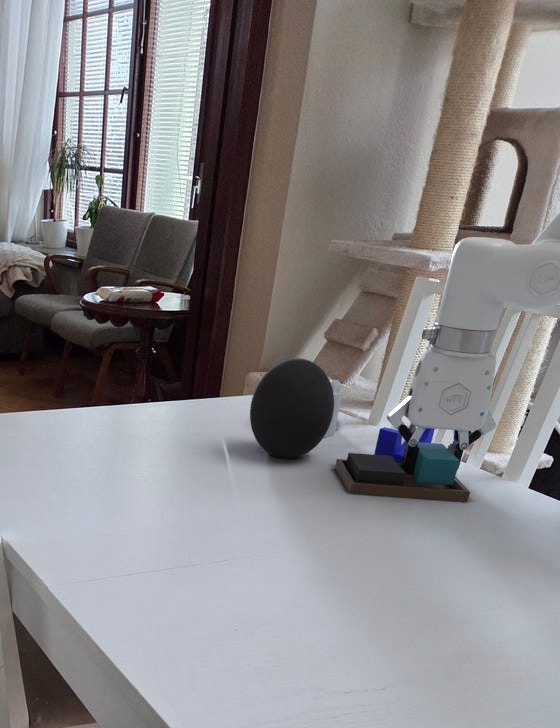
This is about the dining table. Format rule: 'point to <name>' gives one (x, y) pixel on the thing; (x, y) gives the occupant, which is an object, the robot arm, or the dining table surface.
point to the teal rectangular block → (435, 464)
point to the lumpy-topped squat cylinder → (335, 405)
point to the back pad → (375, 469)
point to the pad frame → (404, 487)
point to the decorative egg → (292, 408)
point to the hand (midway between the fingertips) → (427, 471)
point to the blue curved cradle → (397, 442)
